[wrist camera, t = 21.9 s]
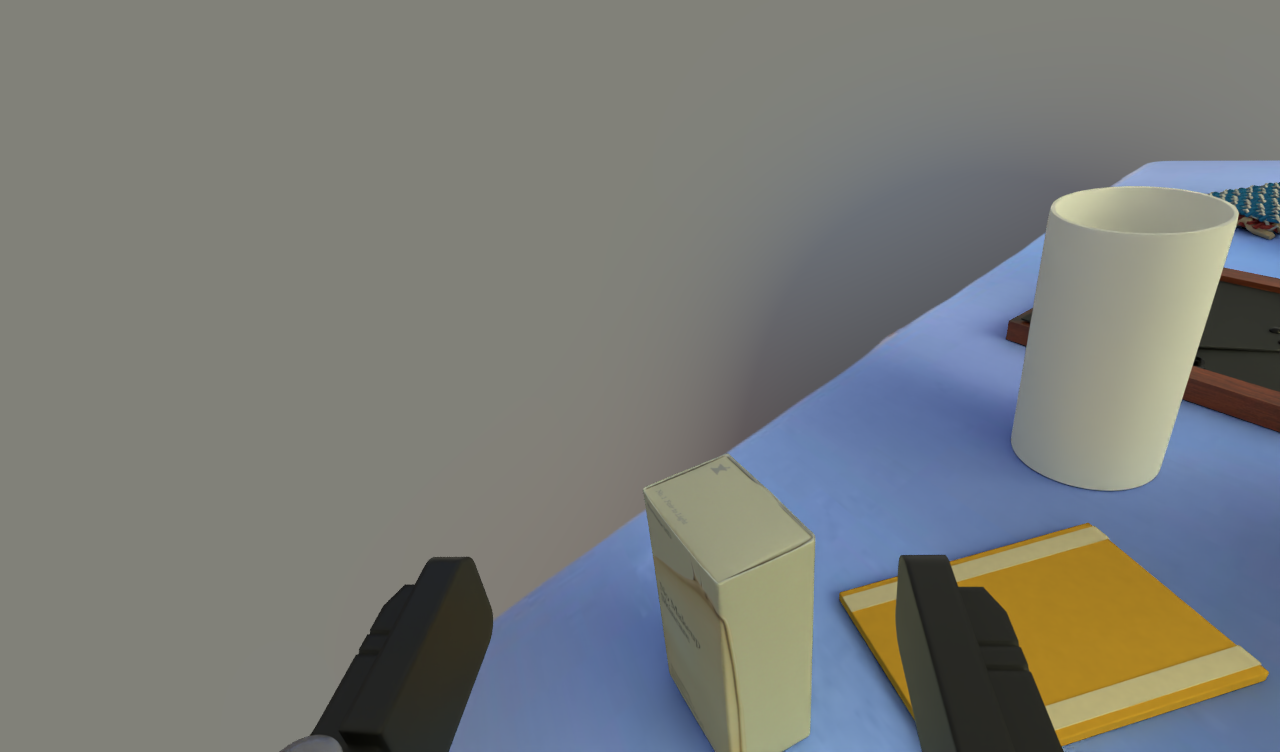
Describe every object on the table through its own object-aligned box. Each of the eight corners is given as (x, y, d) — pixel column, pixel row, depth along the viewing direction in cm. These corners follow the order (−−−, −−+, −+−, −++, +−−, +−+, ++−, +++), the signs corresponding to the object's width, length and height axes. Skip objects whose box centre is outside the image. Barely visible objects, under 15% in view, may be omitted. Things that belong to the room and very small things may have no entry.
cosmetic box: (667, 674, 34) (633, 486, 28) (743, 635, 35) (726, 448, 29) (735, 787, 29) (711, 586, 23) (820, 736, 30) (819, 534, 24)
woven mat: (1181, 211, 75) (1185, 193, 74) (1274, 196, 75) (1281, 178, 74) (1263, 241, 66) (1270, 221, 65) (1370, 224, 66) (1379, 203, 65)
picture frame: (1006, 339, 57) (1428, 482, 38) (1009, 317, 56) (1445, 454, 37) (1135, 267, 65) (1538, 355, 46) (1140, 247, 64) (1554, 329, 45)
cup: (1012, 407, 49) (1048, 186, 41) (1151, 423, 45) (1221, 184, 37) (1009, 477, 42) (1051, 233, 35) (1170, 502, 39) (1259, 236, 31)
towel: (1086, 530, 38) (1088, 521, 38) (1265, 680, 29) (1271, 671, 29) (838, 599, 36) (838, 591, 36) (952, 782, 28) (954, 773, 27)
